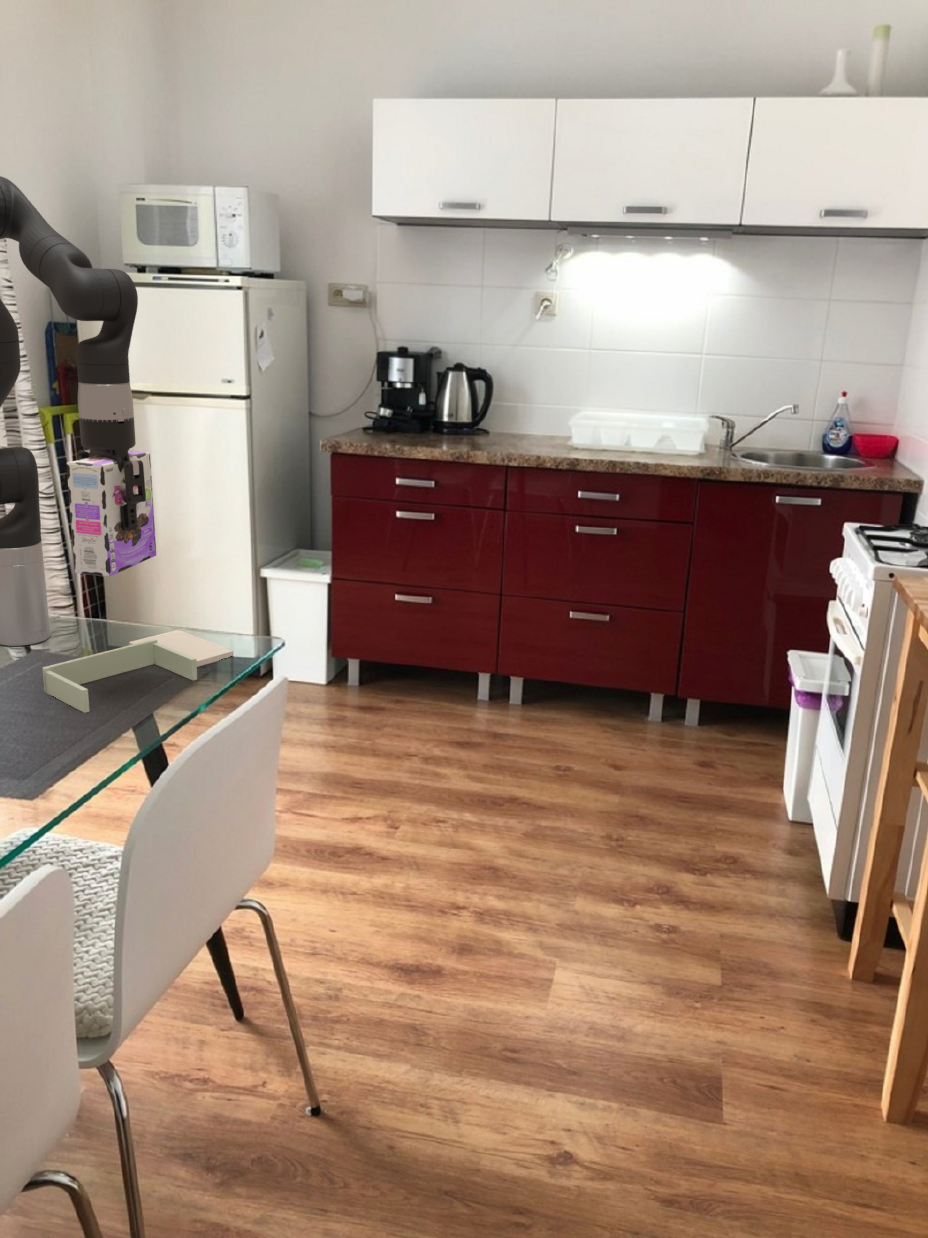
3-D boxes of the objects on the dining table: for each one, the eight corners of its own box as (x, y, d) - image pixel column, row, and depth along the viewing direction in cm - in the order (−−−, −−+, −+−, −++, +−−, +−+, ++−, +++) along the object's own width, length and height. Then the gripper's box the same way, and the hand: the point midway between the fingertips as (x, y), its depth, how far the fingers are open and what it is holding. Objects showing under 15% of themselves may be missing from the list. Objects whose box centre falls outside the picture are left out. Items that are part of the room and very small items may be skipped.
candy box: (109, 578, 150) (101, 464, 145) (73, 574, 151) (63, 461, 146) (158, 556, 163) (152, 450, 158) (124, 552, 164) (116, 447, 159)
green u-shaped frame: (44, 692, 160) (42, 667, 159) (156, 661, 174) (154, 638, 173) (84, 712, 153) (82, 687, 152) (197, 679, 167) (196, 655, 166)
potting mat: (129, 647, 180) (128, 642, 180) (178, 634, 188) (178, 629, 187) (183, 670, 170) (183, 665, 170) (233, 656, 178) (233, 651, 177)
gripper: (56, 410, 152) (65, 521, 157) (109, 421, 143) (118, 537, 148) (103, 407, 157) (110, 514, 162) (157, 417, 148) (163, 529, 153)
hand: (114, 525), depth 155 cm, fingers closed on candy box, 8 cm apart
